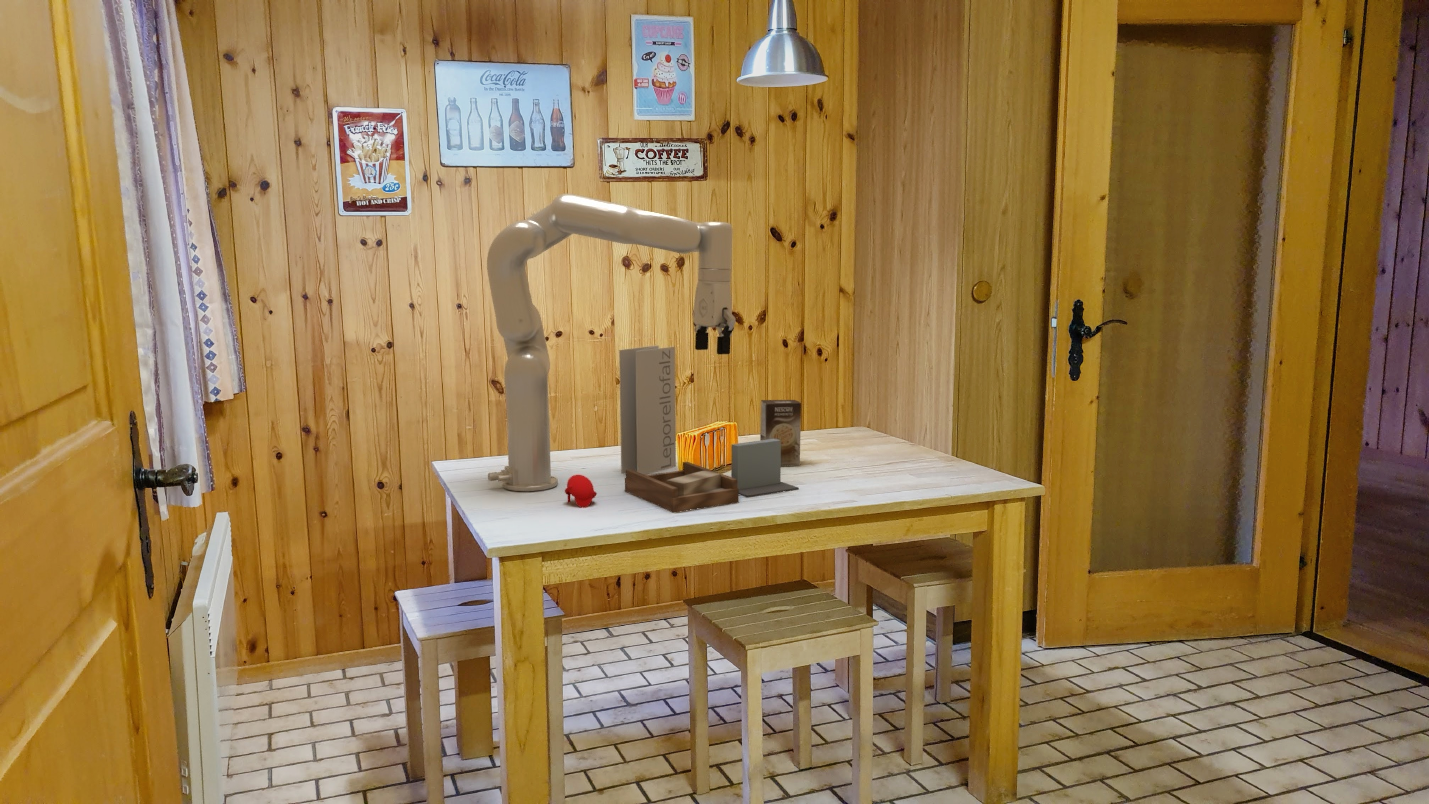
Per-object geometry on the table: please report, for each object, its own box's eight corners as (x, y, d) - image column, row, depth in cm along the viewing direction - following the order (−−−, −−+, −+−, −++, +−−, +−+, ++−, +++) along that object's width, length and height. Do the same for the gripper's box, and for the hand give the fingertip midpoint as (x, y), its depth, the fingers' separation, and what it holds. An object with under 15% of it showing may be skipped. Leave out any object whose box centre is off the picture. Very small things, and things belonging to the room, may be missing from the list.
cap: (558, 485, 223) (559, 476, 218) (583, 474, 225) (585, 465, 220) (575, 517, 221) (576, 509, 216) (600, 506, 223) (602, 497, 218)
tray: (674, 512, 213) (673, 489, 212) (624, 491, 232) (624, 469, 231) (738, 502, 221) (738, 479, 221) (686, 482, 240) (686, 461, 239)
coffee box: (764, 467, 256) (765, 403, 253) (759, 462, 262) (759, 399, 259) (800, 466, 257) (801, 402, 255) (794, 460, 263) (795, 398, 261)
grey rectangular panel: (737, 489, 231) (737, 446, 229) (731, 487, 233) (731, 444, 231) (780, 482, 237) (780, 440, 236) (774, 480, 239) (774, 438, 238)
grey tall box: (638, 476, 246) (636, 351, 241) (621, 473, 249) (619, 350, 245) (675, 466, 257) (674, 346, 253) (659, 463, 260) (657, 345, 256)
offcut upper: (683, 497, 215) (683, 483, 215) (666, 493, 218) (666, 480, 218) (721, 487, 224) (721, 473, 224) (704, 483, 227) (703, 470, 227)
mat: (747, 497, 226) (747, 495, 226) (713, 484, 237) (713, 483, 237) (798, 489, 233) (798, 487, 233) (763, 477, 245) (763, 475, 245)
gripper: (681, 275, 239) (679, 348, 242) (720, 278, 225) (717, 356, 227) (709, 275, 243) (707, 347, 246) (749, 278, 228) (746, 355, 231)
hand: (712, 351), depth 236 cm, fingers open, 9 cm apart
